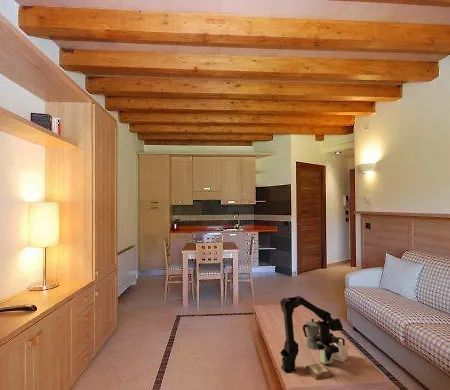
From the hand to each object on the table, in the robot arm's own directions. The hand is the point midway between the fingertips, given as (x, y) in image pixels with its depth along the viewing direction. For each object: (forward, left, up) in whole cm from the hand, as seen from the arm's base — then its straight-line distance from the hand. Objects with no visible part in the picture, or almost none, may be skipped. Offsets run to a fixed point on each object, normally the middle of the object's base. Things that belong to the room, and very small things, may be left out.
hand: (325, 358), depth 186 cm
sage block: (0, 0, -2) cm, 2 cm away
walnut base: (-10, -8, -3) cm, 13 cm away
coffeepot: (+5, +23, -3) cm, 24 cm away
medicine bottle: (+12, +3, -3) cm, 13 cm away
